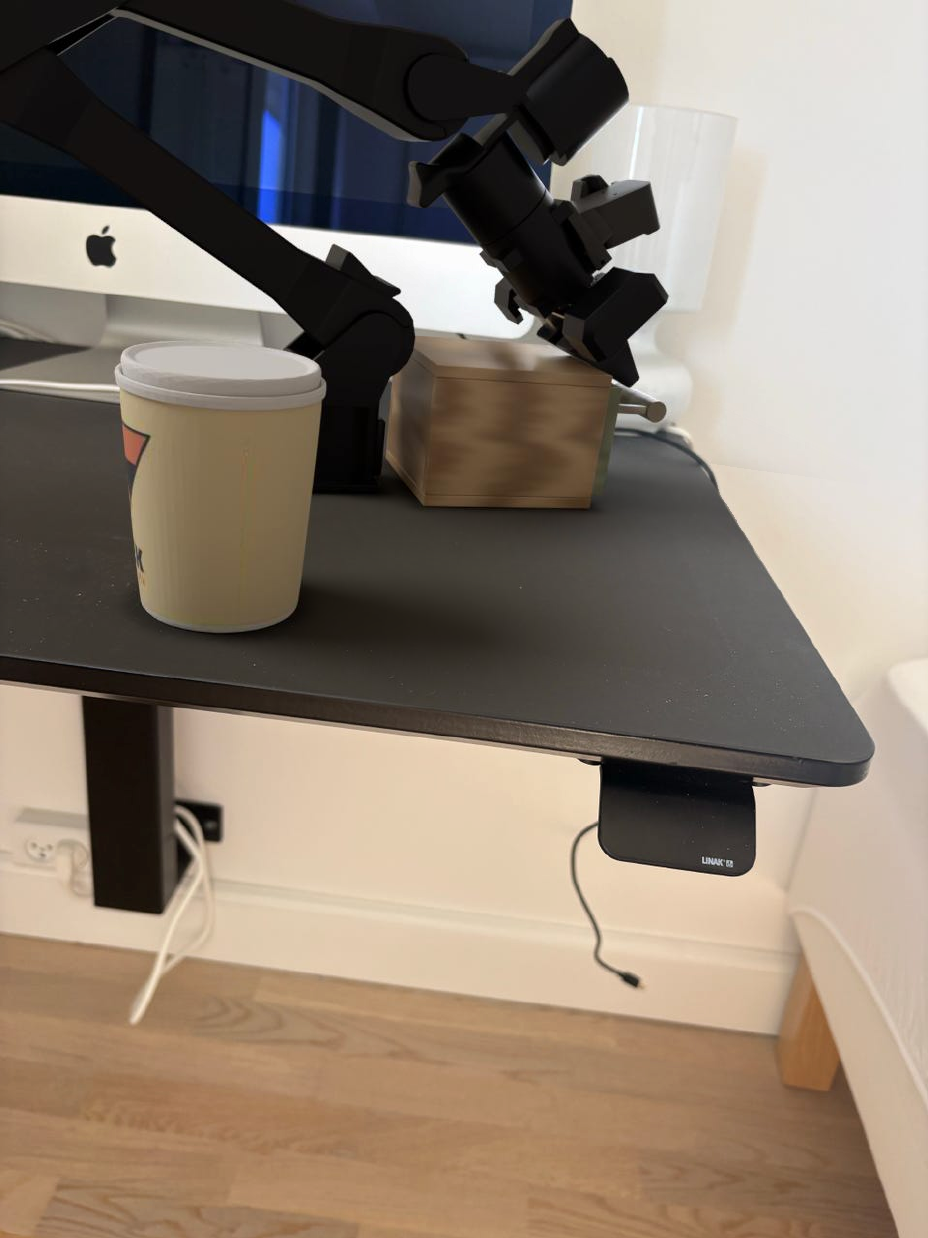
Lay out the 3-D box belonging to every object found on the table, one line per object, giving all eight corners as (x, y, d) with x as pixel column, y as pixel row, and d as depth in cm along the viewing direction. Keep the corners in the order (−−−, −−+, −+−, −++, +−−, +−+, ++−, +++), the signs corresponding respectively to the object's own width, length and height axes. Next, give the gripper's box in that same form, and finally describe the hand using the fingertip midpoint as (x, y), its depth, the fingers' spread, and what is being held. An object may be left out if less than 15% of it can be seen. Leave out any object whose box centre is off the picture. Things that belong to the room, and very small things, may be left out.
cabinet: (533, 463, 80) (550, 345, 76) (589, 508, 70) (613, 375, 66) (385, 458, 76) (395, 333, 72) (423, 506, 66) (437, 364, 62)
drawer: (605, 456, 81) (622, 362, 78) (663, 495, 72) (685, 391, 69) (416, 450, 76) (426, 349, 73) (454, 491, 67) (467, 378, 64)
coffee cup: (157, 556, 53) (153, 331, 48) (327, 576, 53) (341, 354, 48) (92, 628, 44) (79, 363, 39) (295, 651, 45) (307, 390, 40)
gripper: (665, 128, 57) (784, 328, 65) (548, 131, 73) (655, 291, 81) (526, 263, 58) (660, 444, 66) (440, 236, 74) (556, 384, 82)
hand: (632, 382), depth 73 cm, fingers closed, pressing on cabinet
